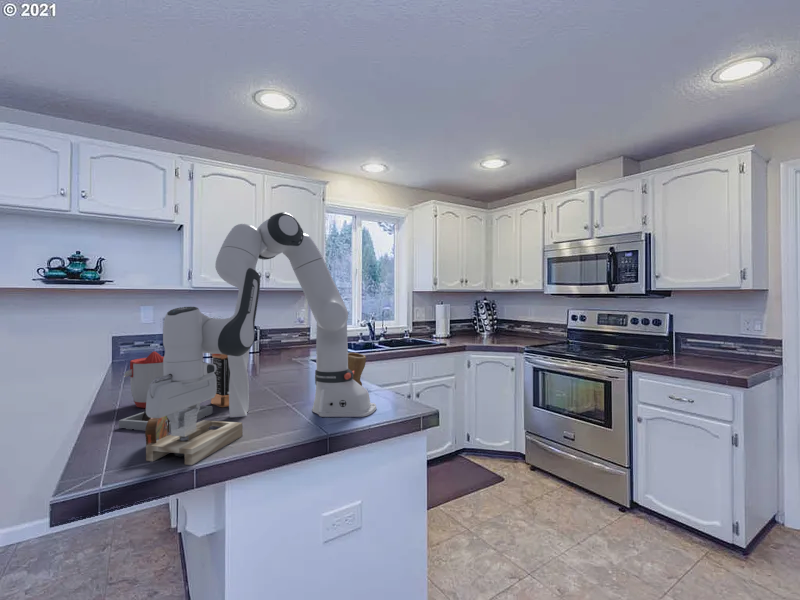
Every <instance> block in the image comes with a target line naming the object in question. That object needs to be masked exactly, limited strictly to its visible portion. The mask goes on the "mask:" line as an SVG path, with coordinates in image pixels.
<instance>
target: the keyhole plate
mask: <svg viewBox="0 0 800 600" xmlns="http://www.w3.org/2000/svg"><path fill="white" fill-rule="evenodd" d="M210 427H218V428H216V429H210ZM243 430H244V429H243V422H239V421H238V422H236V421H222V420H207V419H203V420H200V421H198V422H196V432H194V433H192V434H190V435H189V441H187V442H183V441H180V436H171V434H168V436H166V437H164V438H161V439H159V440H157V441H156V443H151V444H148V445H146V444H145V461H146V462H155V461H157V460H159V459H161V458H163V457H165V456H166V455H169V454H171V453H173V454H174V453H183V454H185V456H184V466H186V465H187V466H193V465H195V464H196V463H198V462H200V461H201V460H203V459H206V458H207V457H208V456H210V455H212V454H214V453H216V452H217V451H219V450H221V449H222V448H224V447H226V446H227V445H230V444H231V443H233V442H234V441H236V440H238V439H240V438H241V437H243V436H244V435H243V432H244V431H243Z"/></svg>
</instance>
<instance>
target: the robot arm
mask: <svg viewBox="0 0 800 600" xmlns="http://www.w3.org/2000/svg"><path fill="white" fill-rule="evenodd" d="M319 249H320V248H318V246H317V244H316V243H315V241H314V240H313V238H312V237H311V236H310V235H309V234H307V233H304V229H303V228H302V227H301V225H300V223H299V221H298V220H297V219H296V218H295V217H294V216H293V215H292V214H290V213H288V212H278V213H275V214H273V215H271V216H270V217H269V218H268V219H266V220H264V221H263V222H261V224H260V225H259V226H258V227H255V226H253V225H251V224H247V223H238V224H235V225H234V226H233V227H232V228H231V230H230V231H229V232H228V233H227V235H226V237H225V239H224V240H223V243H222V244H221V247H220V249H219V251H218V254H217V256H216V259H215V270H216V273H217V274H218V276H219V277H220V279H222V280H223V281H224V282H225V283H227V284H229V285H231V286H232V287H235V288H238V294H237V299H236V303H235V309H234V314H233V315H232V316H231V317H228V319H227V318H215V317H213V318H212V317H211V316H209V315H208V316H207V315H205V314H203V313H202V312H201V311H200V308H199V307H196V306H182V307H176V308H172V309H170V310H168V311H167V312H166V314H165V316H164V321H163V328H162V331H163V332H162V345H163V348H164V355H163V357H164V359H163V372H164V376H162V377H157V378H155V379H154V380H153V381H152V382H151V384H150V385H149V390H148V394H147V401H146V408H145V409H146V415H147V416H148V417H150V418H162V417H164V416H167V418H168V419H169V422H171V429H173V430H176V429H179V428H181V421H178V418H177V416H178V411H180V410H183V409H185V408H188V407H190V408H196V422H197V421H198V420H197V414H198V411H199V409H200V406H201V403H204V402H206V401H209V400H211V399H212V398H214V397H215V395H216V391H217V381H216V375H215V374H214V372H216V365H215V364H213V363H210V362H205V361H204V356H203V354H211V355H212V354H225V355H231V356H241V355H243V354H245V353H246V352H247V351H248V350H249V351H250V349H251V347H252V346H253V344H254V342H255V339H256V338H255V336H256V333H255V332H256V330H255V327H256V326H255V323H256V317H257V316H256V315H257V310H258V304H259V296H260V289H261V278H260V275H259V273H258V271H257V270H256V267H257V264H258V261H259V260H263V261H265V260H270V259H273V258H275V257H276V256H278V255H280V254H283V255H284V256H285V257H286V258H287V260H289V263H290V266H291V267H292V270H293V272H294V274H295V276H296V279H297V281H298V283H299V285H300V288H301V289H302V291H303V294H304V297H305V299H306V300H307V301H306V302H307V304H308V306H309V308H310V310H311V312H312V313H311V314H312V315H313V317H314V319H315V322H316V332H315V334H316V336H315V337H316V338H315V340H316V345H315V351H316V352H315V353H316V355H315V356H316V358H315V359H316V360H315V361H316V362H315V363H316V366H315V368H316V369H315V370H314V371H315V372H314V374H315V375H314V385H315V394H314V400H313V406H312V409H311V411H312V412H313V413H315V414H317V415H318V416H319V417H321V418H322V417H323V418H326V417H327V418H328V417H329V418H330V417H331V418H333V417H335V418H348V417H349V418H352V417H353V418H354V417H355V418H357V417H358V418H361V417H363V418H364V417H367V416H370V415H372V414H373V413H374V412H375V411H376V409H377V404H376V403H375V402H371V398H370V394H369V391H368V390H367V389H366V388H365V387H364V386H363V385H362V386H361V385H360V384H358V383H357V382H356V381H355V380H353V374H354V371H351V370H350V369H349V368H348V353H349V348H348V347H349V346H348V343H349V342H348V321H349V320H348V319H349V311H348V309H347V307H346V304H345V302H344V300H343V297H342V296H341V293H340V292H339V290H338V287H337V286H336V283H335V281H334V279H333V277H332V275H331V272H330V270H329V268H328V265H327V263H326V262H325V259H324V257H323V255H322V253H321V252H320V250H319ZM154 382H155V383H154Z"/></svg>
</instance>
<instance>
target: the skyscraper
mask: <svg viewBox="0 0 800 600" xmlns="http://www.w3.org/2000/svg"><path fill="white" fill-rule="evenodd" d="M249 356H250V349H249V350H248V351H247V352H246V353H245V354H243V355H241V356H231V355H228V363H229V369H230V381H229V406H228V408H229V411H228V413H229V418H239V417H247V416H248V415H247V414H248V413H249V411H250V410H249V409H250V407H249V406H250V387H249V383H250V382H249V375H248V366H249V365H248V364H249ZM247 412H248V413H247Z"/></svg>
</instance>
